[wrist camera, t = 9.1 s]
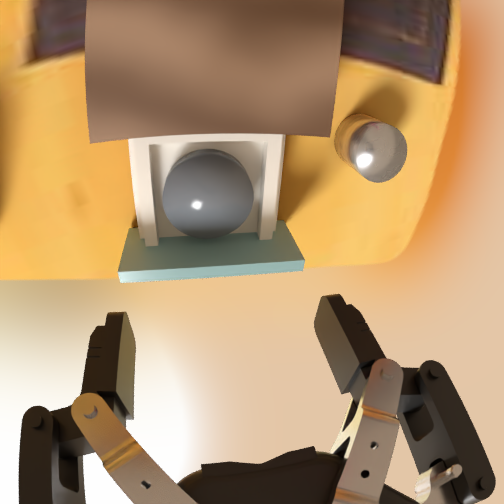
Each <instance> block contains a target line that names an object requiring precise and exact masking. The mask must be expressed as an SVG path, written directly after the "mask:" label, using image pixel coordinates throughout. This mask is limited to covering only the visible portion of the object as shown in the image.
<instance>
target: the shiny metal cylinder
mask: <svg viewBox="0 0 504 504" xmlns="http://www.w3.org/2000/svg"><path fill="white" fill-rule="evenodd" d="M334 142H335V149H336V152H337V154H338V155H339V157H340V158H341V159H342V160H343V161H344V162H346V163H347V164H348V165H350V166H351V167H352V168H353V169H355V170H356V171H357V172H358V173H360V174H361V175H362V176H363V177H365V178H366V179H367V180H369V181H372V182H377V183H379V182H385V181H388V180H390V179H391V178H393V177H394V176H396V175H397V174H398V172H399V171H400V170H401V168H402V167H403V165H404V163H405V160H406V156H407V144H406V140H405V138H404V136H403V134H402V133H401V132H400V131H399V130H398V129H397V128H395V127H393V126H391V125H389V124H387V123H384V122H382V121H380V120H378V119H375V118H373V117H371V116H368V115H365V114H354V115H351V116H349V117H347V118H346V119H345V120H344V121H342V123H341V124H340V125H339V127H338V129H337V131H336V134H335V140H334Z"/></svg>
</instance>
